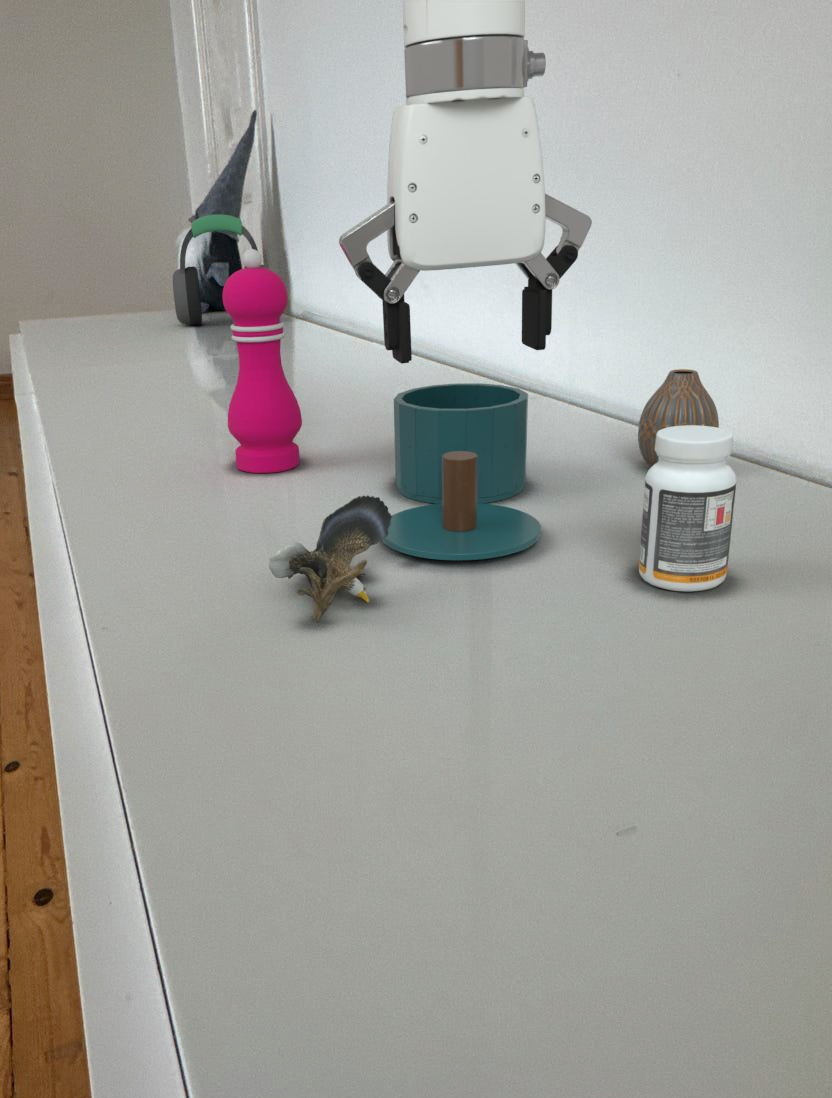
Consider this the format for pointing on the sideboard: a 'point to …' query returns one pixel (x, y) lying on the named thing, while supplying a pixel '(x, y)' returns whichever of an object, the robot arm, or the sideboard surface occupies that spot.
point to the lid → (461, 520)
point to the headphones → (188, 277)
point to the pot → (461, 438)
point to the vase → (675, 409)
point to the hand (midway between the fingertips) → (468, 353)
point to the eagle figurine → (336, 552)
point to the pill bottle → (688, 509)
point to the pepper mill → (260, 371)
